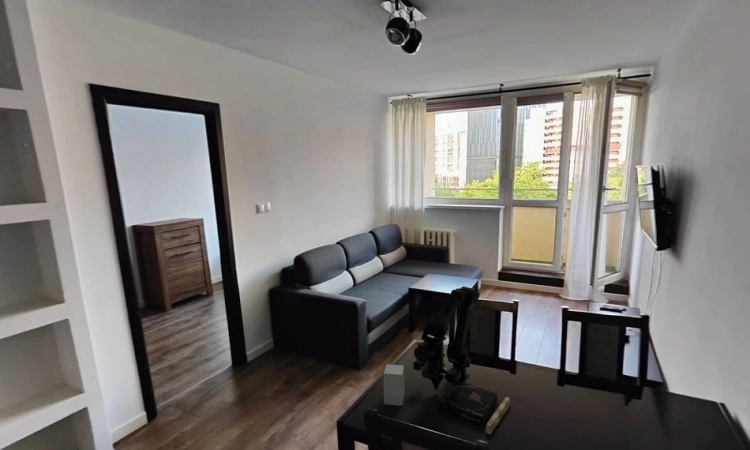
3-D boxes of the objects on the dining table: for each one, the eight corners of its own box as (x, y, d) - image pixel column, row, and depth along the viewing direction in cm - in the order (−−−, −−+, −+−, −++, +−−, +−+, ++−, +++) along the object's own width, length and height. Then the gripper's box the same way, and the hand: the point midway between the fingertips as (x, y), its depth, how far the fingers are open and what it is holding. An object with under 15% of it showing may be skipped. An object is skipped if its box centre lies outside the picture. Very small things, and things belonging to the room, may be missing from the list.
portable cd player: (497, 402, 135) (497, 392, 134) (482, 428, 121) (482, 417, 120) (456, 389, 144) (456, 379, 144) (438, 411, 130) (438, 401, 130)
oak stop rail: (506, 404, 133) (506, 396, 132) (509, 405, 132) (509, 398, 131) (486, 432, 118) (486, 424, 118) (490, 434, 117) (490, 426, 117)
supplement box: (402, 406, 133) (402, 375, 132) (383, 404, 135) (382, 373, 133) (405, 394, 140) (404, 365, 139) (386, 393, 142) (386, 363, 140)
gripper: (405, 354, 138) (405, 391, 140) (448, 368, 127) (448, 408, 129) (419, 343, 147) (420, 378, 149) (461, 356, 136) (461, 393, 137)
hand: (436, 389), depth 141 cm, fingers closed
